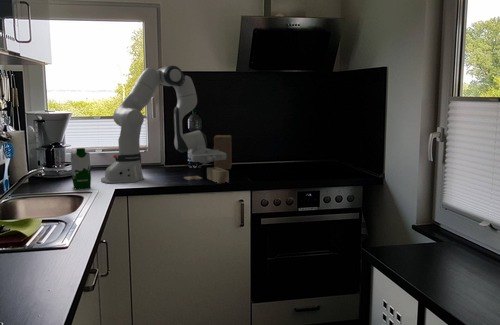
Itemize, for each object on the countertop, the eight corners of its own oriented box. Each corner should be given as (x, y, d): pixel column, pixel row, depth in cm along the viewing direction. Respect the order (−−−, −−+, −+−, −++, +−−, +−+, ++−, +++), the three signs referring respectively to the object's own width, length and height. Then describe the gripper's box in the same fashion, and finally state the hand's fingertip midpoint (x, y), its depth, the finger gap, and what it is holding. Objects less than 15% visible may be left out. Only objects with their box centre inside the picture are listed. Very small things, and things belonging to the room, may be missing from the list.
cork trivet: (188, 180, 263) (188, 179, 263) (183, 178, 270) (183, 176, 270) (202, 179, 267) (202, 178, 267) (197, 176, 274) (197, 175, 274)
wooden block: (230, 169, 298) (230, 136, 295) (214, 169, 298) (213, 136, 295) (231, 166, 308) (231, 135, 305) (215, 166, 308) (215, 135, 305)
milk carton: (74, 190, 239) (71, 149, 236) (71, 186, 247) (69, 147, 244) (92, 188, 243) (90, 148, 240) (89, 185, 251) (87, 146, 248)
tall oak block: (206, 178, 269) (218, 183, 256) (206, 167, 268) (218, 172, 255) (216, 177, 272) (228, 182, 258) (216, 166, 271) (228, 171, 257)
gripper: (186, 151, 273) (195, 154, 261) (220, 149, 283) (230, 152, 270) (187, 162, 274) (195, 166, 262) (220, 160, 284) (230, 163, 271)
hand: (213, 158), depth 266 cm, fingers closed
